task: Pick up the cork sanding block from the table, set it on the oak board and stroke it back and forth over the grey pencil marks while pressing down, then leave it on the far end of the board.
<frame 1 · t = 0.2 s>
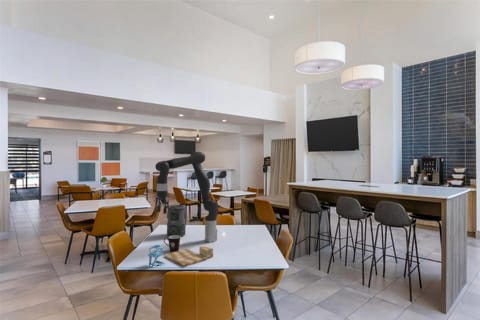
hand: (161, 212, 191), 29 cm above the table, fingers open, 8 cm apart
board: (185, 258, 182), on the table
sanding block: (206, 256, 187), on the table
canister: (176, 235, 236), on the table
chair: (155, 265, 170), on the table
coffee mug: (172, 250, 198), on the table
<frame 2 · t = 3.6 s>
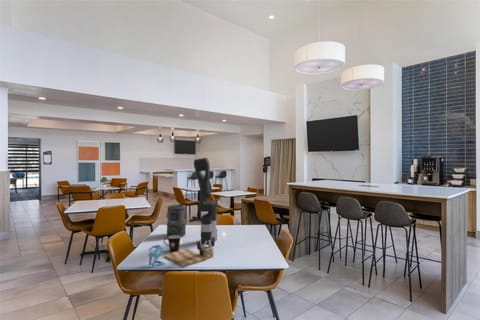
hand: (205, 254, 187), 2 cm above the table, fingers open, 6 cm apart
nothing on the table moved.
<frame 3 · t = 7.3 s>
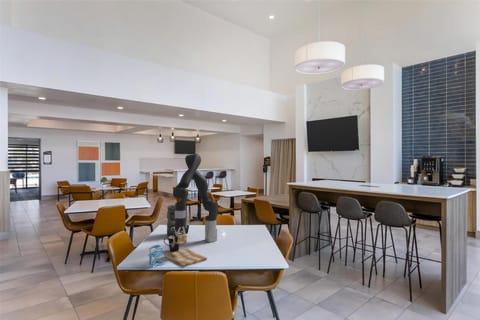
hand: (179, 240, 187), 10 cm above the table, fingers closed on sanding block, 5 cm apart
sanding block: (179, 243, 187), point 9 cm above the table, touching gripper
everything else where it was.
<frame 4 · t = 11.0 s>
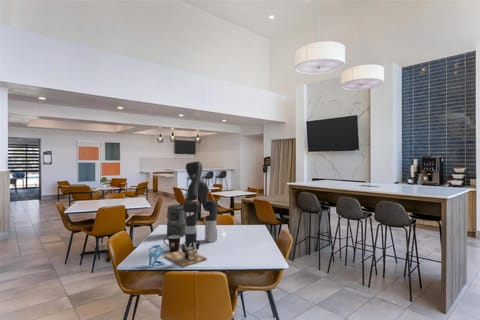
hand: (190, 257, 178), 2 cm above the table, fingers closed on sanding block, 5 cm apart
sanding block: (190, 258, 178), point 2 cm above the table, touching board, gripper
everything else where it was.
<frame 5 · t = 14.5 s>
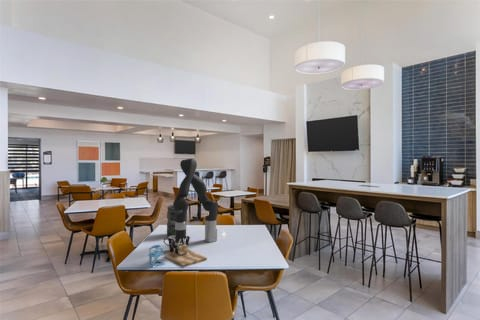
hand: (180, 252, 187), 2 cm above the table, fingers closed on sanding block, 5 cm apart
sanding block: (180, 253, 187), point 2 cm above the table, touching gripper
everything else where it was.
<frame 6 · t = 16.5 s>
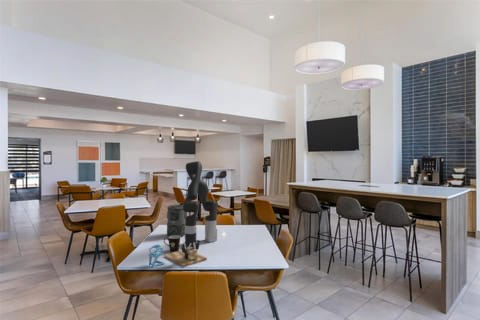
hand: (190, 257, 178), 2 cm above the table, fingers closed on sanding block, 5 cm apart
sanding block: (190, 258, 178), point 2 cm above the table, touching gripper
everything else where it was.
when the fingers open (2 cm above the table, at t = 17.9 s): sanding block stays where it is, resting on board.
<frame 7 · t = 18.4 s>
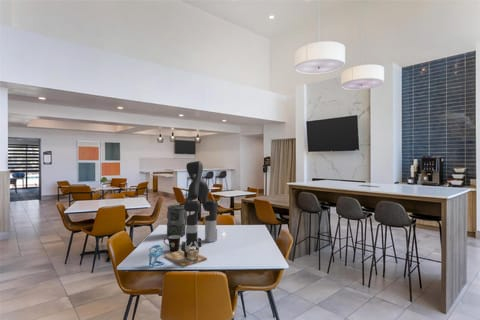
hand: (191, 255, 177), 4 cm above the table, fingers open, 8 cm apart
sanding block: (191, 258, 177), point 2 cm above the table, touching board
everything else where it was.
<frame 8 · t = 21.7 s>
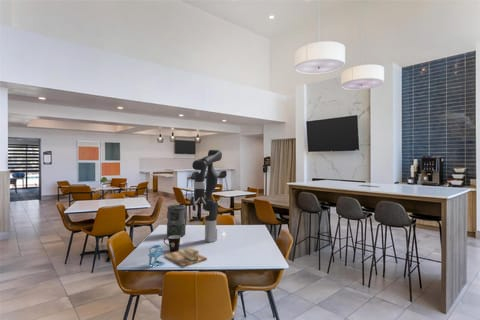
hand: (199, 209, 197), 30 cm above the table, fingers open, 8 cm apart
nothing on the table moved.
at the end: sanding block inside the target area on the board (6.8 cm from its centre), point 1.5 cm above the board's base; sanding block tilted 0°; the gripper is holding nothing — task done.
